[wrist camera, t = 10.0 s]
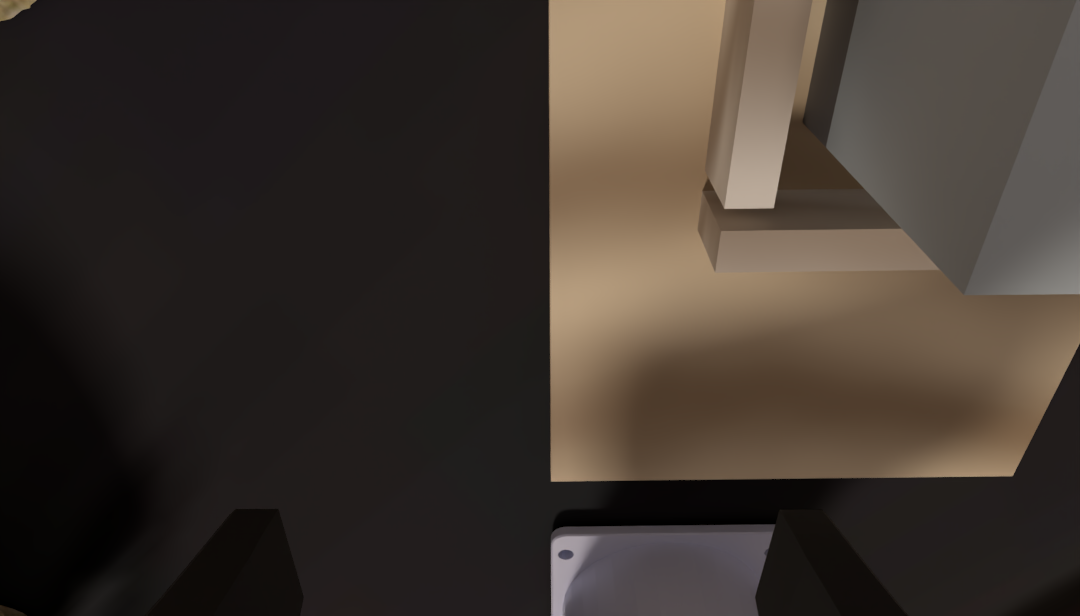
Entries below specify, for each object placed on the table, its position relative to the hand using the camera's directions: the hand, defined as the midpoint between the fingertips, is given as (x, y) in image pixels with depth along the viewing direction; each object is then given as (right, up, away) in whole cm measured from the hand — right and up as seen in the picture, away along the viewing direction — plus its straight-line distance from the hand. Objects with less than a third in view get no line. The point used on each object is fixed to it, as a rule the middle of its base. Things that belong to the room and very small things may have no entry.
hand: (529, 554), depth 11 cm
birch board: (+7, +7, +7) cm, 12 cm away
